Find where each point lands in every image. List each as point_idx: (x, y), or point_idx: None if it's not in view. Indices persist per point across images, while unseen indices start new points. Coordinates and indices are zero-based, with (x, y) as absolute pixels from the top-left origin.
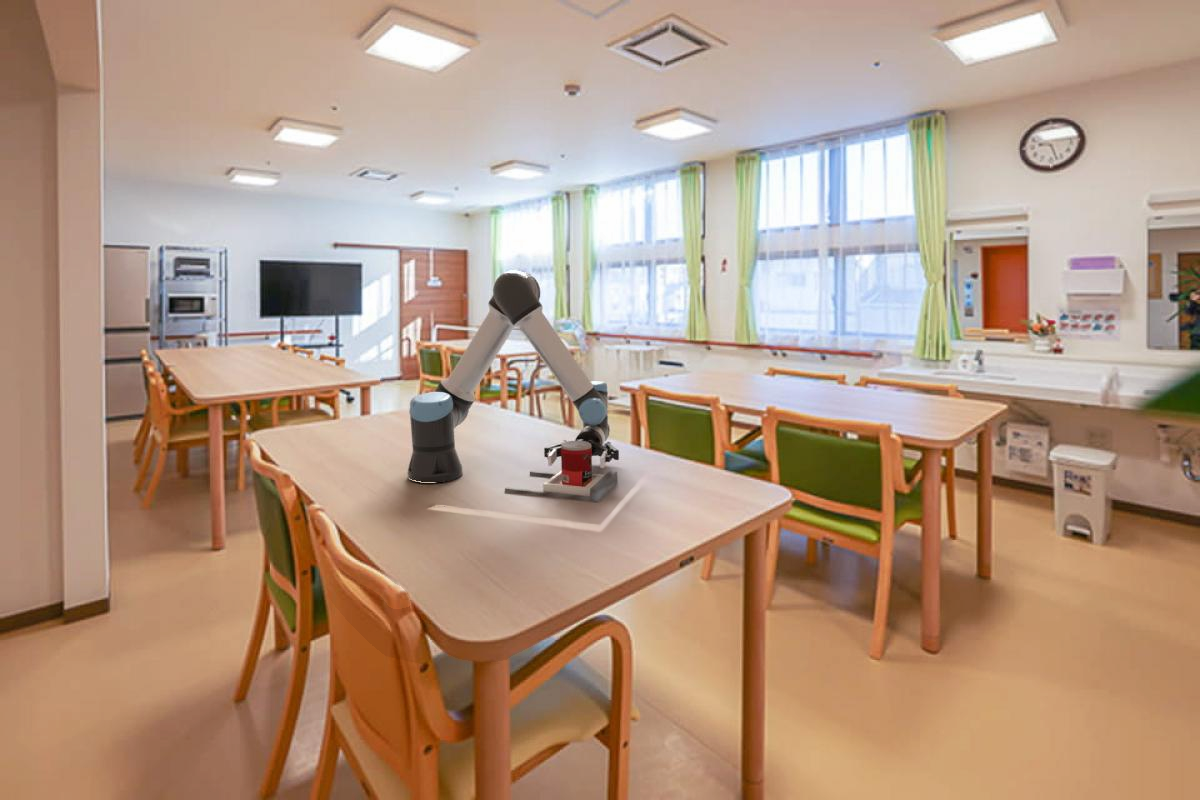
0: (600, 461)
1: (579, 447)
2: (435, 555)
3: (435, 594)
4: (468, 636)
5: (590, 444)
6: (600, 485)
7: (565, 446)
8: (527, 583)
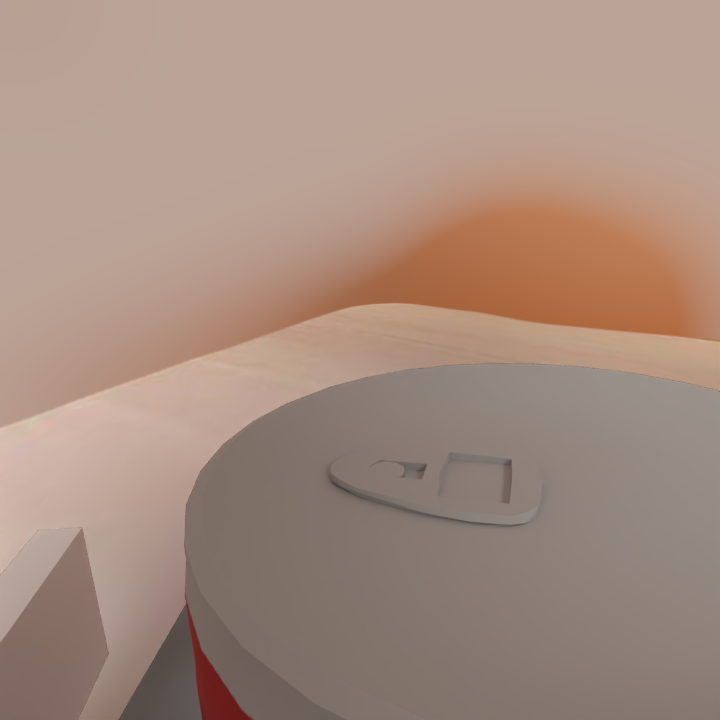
0: (90, 575)
1: (420, 441)
2: (616, 361)
3: (492, 322)
4: (386, 304)
5: (205, 495)
6: (156, 680)
7: (668, 406)
8: (357, 345)
